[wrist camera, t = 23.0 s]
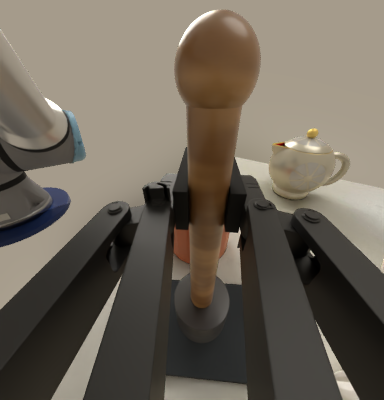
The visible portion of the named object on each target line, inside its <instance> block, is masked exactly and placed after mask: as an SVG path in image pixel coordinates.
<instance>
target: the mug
mask: <svg viewBox="0 0 384 400" xmlns="http://www.w3.org/2000/svg"><path fill="white" fill-rule="evenodd" d="M334 376H335V379H336V381H337V384H338V387H339V390H340V393H341V396H342V399H343V400H359V398H358V396H357V394H356V392H355V390H354V389H353V387H352V385H351V383H350V381H349V380H348V378H347V376H346V374H345V372H344V371H343V370H339V371H337V372H334Z"/></svg>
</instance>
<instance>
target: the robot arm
mask: <svg viewBox="0 0 384 400" xmlns="http://www.w3.org/2000/svg"><path fill="white" fill-rule="evenodd" d="M85 157H86V153H85V149H84V145H83V142H82V138H81V135H80V131H79V128H78V125H77V122H76V119H75V117H74V115H73V113H72V112H71V111H65V110H61V109H60V108H59V107H58V106H57V105H56V104H55V103H53V102H52V101H50V100H48V99H46V98H44V96H43V95H42V93H41V92H40V90H39V88H38V87H37V85H36V84H35V82H34V81H33V79H32V77H31V76H30V74H29V73H28V71H27V70H26V68H25V66H24V65H23V63H22V62H21V60H20V59H19V57H18V56H17V54H16V52H15V51H14V49H13V48H12V46H11V45H10V43H9V42H8V40H7V38H6V37H5V35H4V34H3V32H2V31H1V29H0V232H1V231H5V230H9V229H13V228H16V227H19V226H21V225H24V224H26V223H28V222H30V221H32V220H34V219H36V218H37V217H39V216H40V215H42V214H43V213H44V212H46V211H47V210H48V209H49V208H50V206H51V205H52V202H53V200H52V198H51V196H50V195H49V193H48V192H47V191H45V190H44V189H43V188H42V187H40V186H39V185H38V184H36V183H35V182H34V181H32V180H31V179H30V178H28V176H27V175H26V173H25V172H24V171H28V170H33V169H38V168H44V167H50V166H55V165H61V164H66V163H74V162H76V161H81V160H83V159H84V158H85ZM143 194H144V198H145V205H142V206H138V207H132V208H130V207H129V204H127V203H126V202H123V201H117V202H112V203H110V204H108V205H106V206H105V207H103V208H102V209H101V210H100V211H99V213H97V214H96V215H95V216H94V217H93V218H92V220H90V221H89V222H88V223H87V225H85V226H84V227H83V228H82V229H81V230H80V231H79V232H78V233H77V234H76V235H75V236H74V237H73V238H72V239H71V240H70V241H69V242H68V243H67V244H66V245H65V246H64V247H63V248H62V249H61V250H60V251H59V252H58V253H57V254H56V255H55V256H54V257H53V258H52V259H51V260H50V261H49V262H48V263H47V264H46V265H45V266H44V267H43V268H42V269H41V270H40V271H39V272H38V273H37V274H36V275H35V276H34V277H33V278H32V279H31V280H30V281H29V282H28V283H27V284H26V285H25V286H24V287H23V288H22V289H21V290H20V291H19V292H18V293H17V294H16V295H15V296H14V297H13V298H12V299H11V300H10V301H9V302H8V303H7V304H6V305H5V306H4V307H3V308H2V309H1V310H0V400H51V398H52V397H53V395H54V393H55V391H56V390H57V388H58V386H59V384H60V383H61V381H62V379H63V377H64V376H65V374H66V372H67V370H68V369H69V367H70V365H71V363H72V361H73V360H74V358H75V356H76V354H77V353H78V351H79V349H80V347H81V346H82V344H83V342H84V340H85V339H86V337H87V335H88V333H89V332H90V330H91V328H92V326H93V325H94V323H95V321H96V319H97V318H98V316H99V314H100V312H101V311H102V309H103V307H104V305H105V304H106V302H107V300H108V298H109V297H110V295H111V293H112V291H113V290H114V288H115V286H116V284H117V283H118V281H119V279H120V277H121V276H122V278H121V281H120V284H119V287H118V290H117V293H116V297H115V300H114V303H113V306H112V309H111V312H110V316H109V319H108V322H107V325H106V328H105V331H104V335H103V338H102V341H101V344H100V347H99V350H98V354H97V357H96V360H95V363H94V366H93V369H92V373H91V376H90V379H89V382H88V385H87V388H86V392H85V395H84V398H83V400H164V393H165V377H166V361H167V346H168V330H169V315H170V299H171V284H172V268H173V253H174V237H175V235H174V228H175V227H176V230H188V229H189V186H188V153H187V147H186V149H185V152H184V155H183V158H182V162H181V165H180V168H179V171H178V174H166V175H165V176H163V177H162V179H161V181H160V182H151V183H149V184H147V185H145V186H144V187H143ZM239 227H240V230H241V234H240V238H239V242H238V246H237V248H239V247H240V260H241V279H242V297H243V316H244V334H245V353H246V372H247V390H248V400H343V399H342V396H341V393H340V390H339V387H338V384H337V381H336V379H335V376H334V373H333V370H332V367H331V364H330V361H329V358H328V356H327V353H326V350H325V347H324V344H323V341H322V338H321V335H320V333H319V330H318V327H317V324H318V326H319V327H320V329H321V331H322V333H323V335H324V336H325V338H326V340H327V342H328V344H329V345H330V347H331V349H332V351H333V353H334V354H335V356H336V358H337V360H338V362H339V363H340V365H341V367H342V369H343V371H344V372H345V374H346V376H347V378H348V380H349V381H350V383H351V385H352V387H353V389H354V390H355V392H356V394H357V396H358V398H359V400H384V273H382V272H381V271H380V270H379V269H378V268H377V267H376V266H375V265H374V264H373V263H372V262H371V261H370V260H369V259H368V258H367V257H366V256H365V255H364V254H363V253H362V252H361V251H360V250H359V249H358V248H357V247H356V246H355V245H354V244H353V243H351V242H350V241H349V240H348V239H347V238H346V237H345V236H344V235H343V234H342V233H341V232H340V231H339V230H338V229H337V228H336V227H335V226H334V225H333V224H332V223H331V222H330V221H329V220H328V219H327V218H326V217H325V216H323V215H322V214H321V213H319V212H317V211H315V210H311V209H307V208H300V209H297V210H296V211H295V212H294V214H289V213H285V212H281V211H278V210H277V209H276V207H275V205H274V204H273V203H272V202H270V201H268V200H266V199H265V198H264V195H263V193H262V191H261V189H260V187H259V185H258V183H257V181H256V179H255V178H253V177H252V176H250V175H240V172H239V169H238V166H237V163H236V160H235V157H234V162H233V168H232V175H231V181H230V188H229V194H228V201H227V207H226V214H225V220H224V228H225V232H234V233H238V231H239ZM310 250H311V251H312V252H313V253H314V255H315V257H314V256H313V255H312V254H311V253H310ZM315 320H316V321H315ZM316 322H317V324H316Z"/></svg>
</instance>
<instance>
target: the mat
mask: <svg viewBox="0 0 384 400" xmlns="http://www.w3.org/2000/svg"><path fill="white" fill-rule="evenodd" d="M180 281H181V280H172V284H171V299H170V315H169V330H168V346H167V361H166V375H169V376H178V377H187V378H196V379H206V380H215V381H224V382H233V383H242V384H247V372H246V353H245V334H244V316H243V297H242V285H237V284H224V285H225V286H226V288H227V291H228V294H229V299H230V304H229V310H228V314H227V317H226V320H225V323H224V326H223V329H222V331H221V333H220V334H219V335H218V336H217V337H216V338H215V339H214V340H212V341H210V342H207V343H196V342H193V341H191V340H190V339H188V338H187V337H186V336H185V335H184V334H183V333H182V331H181V330H180V328H179V325H178V322H177V317H176V311H175V304H174V294H175V290H176V287H177V285H178V284H179V282H180Z"/></svg>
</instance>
